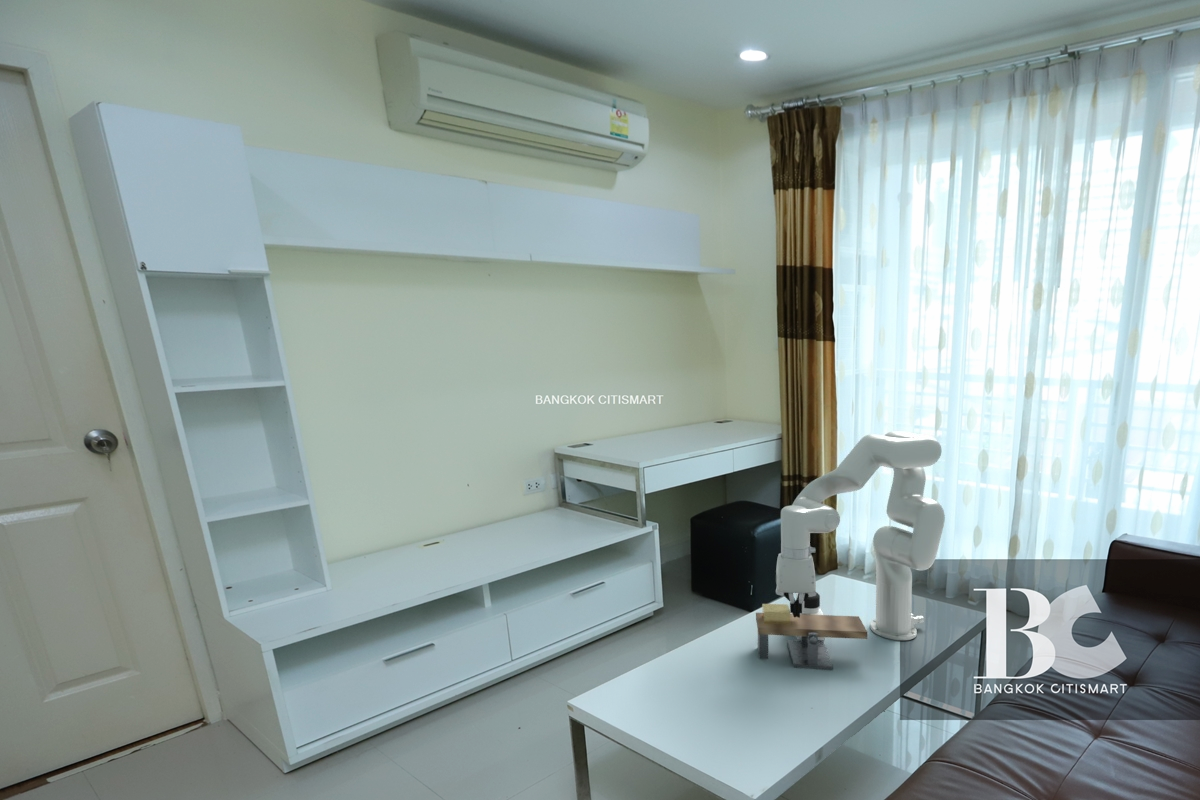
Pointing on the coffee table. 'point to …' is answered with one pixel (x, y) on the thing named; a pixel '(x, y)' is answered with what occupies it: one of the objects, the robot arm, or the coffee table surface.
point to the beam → (816, 626)
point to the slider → (776, 614)
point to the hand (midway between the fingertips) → (796, 615)
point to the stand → (802, 652)
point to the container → (811, 608)
